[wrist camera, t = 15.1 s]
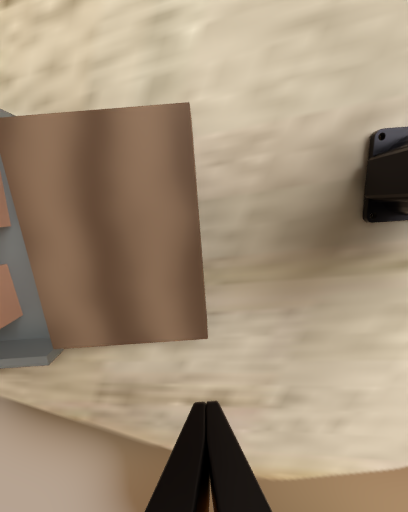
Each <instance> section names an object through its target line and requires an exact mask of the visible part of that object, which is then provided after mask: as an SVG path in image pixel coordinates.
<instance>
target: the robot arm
mask: <svg viewBox="0 0 408 512" xmlns="http://www.w3.org/2000/svg"><path fill="white" fill-rule="evenodd" d="M379 135H380V136H381V140H379V138H378V136H379ZM370 214H373V216H372V218H370ZM363 219H364V221H366V222H372V223H374V222H387V221H401V220H408V127H398V128H385V129H380V130H378V131H375V132H374V133H373V134H372V136H371V139H370V149H369V159H368V165H367V175H366V185H365V200H364V210H363ZM210 483H211V493H212V501H213V508H214V512H272V510H271V508H270V506H269V504H268V502H267V500H266V498H265V496H264V494H263V492H262V490H261V488H260V486H259V484H258V482H257V480H256V478H255V476H254V474H253V471H252V469H251V467H250V465H249V463H248V461H247V459H246V457H245V455H244V453H243V451H242V449H241V447H240V445H239V443H238V441H237V439H236V437H235V435H234V433H233V431H232V429H231V427H230V425H229V423H228V421H227V419H226V417H225V415H224V413H223V411H222V409H221V406H220V404H219V403H218V401H208V402H207V403H205V402H195V403H194V404H193V406H192V409H191V411H190V413H189V415H188V417H187V420H186V422H185V424H184V426H183V428H182V431H181V433H180V435H179V437H178V439H177V442H176V444H175V446H174V448H173V450H172V453H171V455H170V457H169V459H168V461H167V464H166V466H165V468H164V470H163V472H162V475H161V477H160V479H159V481H158V483H157V486H156V488H155V490H154V492H153V495H152V497H151V499H150V501H149V503H148V506H147V508H146V510H145V512H209V500H210Z"/></svg>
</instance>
